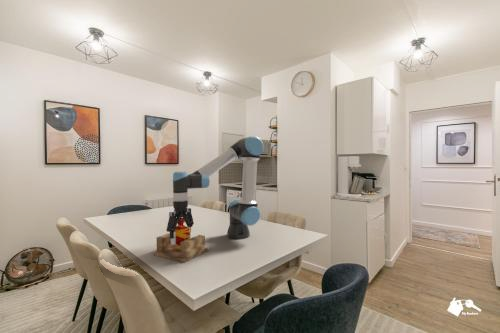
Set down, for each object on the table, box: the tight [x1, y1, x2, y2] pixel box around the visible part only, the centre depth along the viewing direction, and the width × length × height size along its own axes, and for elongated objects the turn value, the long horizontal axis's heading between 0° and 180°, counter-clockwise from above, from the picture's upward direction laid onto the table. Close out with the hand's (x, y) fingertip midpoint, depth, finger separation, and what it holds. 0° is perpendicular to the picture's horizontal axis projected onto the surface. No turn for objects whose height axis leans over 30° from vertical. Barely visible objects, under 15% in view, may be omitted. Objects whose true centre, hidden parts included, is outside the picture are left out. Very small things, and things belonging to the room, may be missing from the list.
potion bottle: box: [174, 217, 191, 248], centre depth 128 cm, size 10×10×15 cm
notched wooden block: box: [152, 232, 209, 264], centre depth 128 cm, size 18×22×9 cm
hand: (181, 241), depth 128 cm, fingers closed on potion bottle, 10 cm apart
